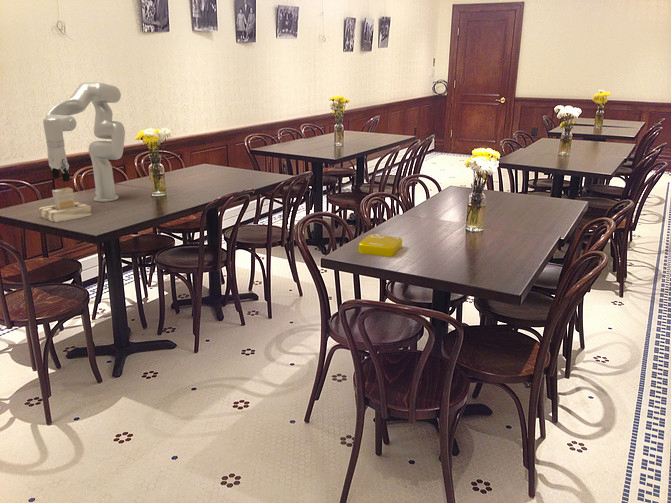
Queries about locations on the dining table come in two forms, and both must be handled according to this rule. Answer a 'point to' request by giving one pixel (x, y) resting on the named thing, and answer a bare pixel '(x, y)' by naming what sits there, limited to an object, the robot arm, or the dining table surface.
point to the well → (65, 212)
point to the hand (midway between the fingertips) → (61, 179)
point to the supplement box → (63, 198)
